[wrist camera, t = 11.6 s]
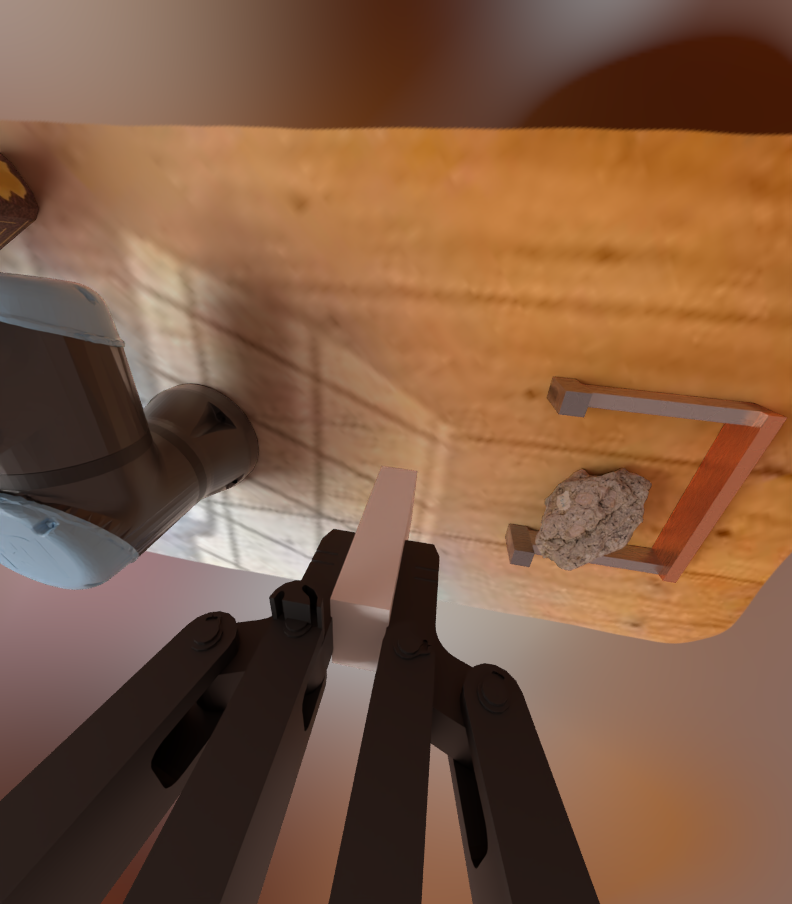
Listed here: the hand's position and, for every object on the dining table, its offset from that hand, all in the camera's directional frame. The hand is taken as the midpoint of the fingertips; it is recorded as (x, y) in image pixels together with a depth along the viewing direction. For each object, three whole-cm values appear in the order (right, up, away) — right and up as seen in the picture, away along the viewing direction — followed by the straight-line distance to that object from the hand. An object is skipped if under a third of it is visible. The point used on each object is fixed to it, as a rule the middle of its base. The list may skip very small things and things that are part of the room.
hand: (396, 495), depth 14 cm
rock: (+23, -3, +28) cm, 36 cm away
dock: (+26, -1, +26) cm, 37 cm away
